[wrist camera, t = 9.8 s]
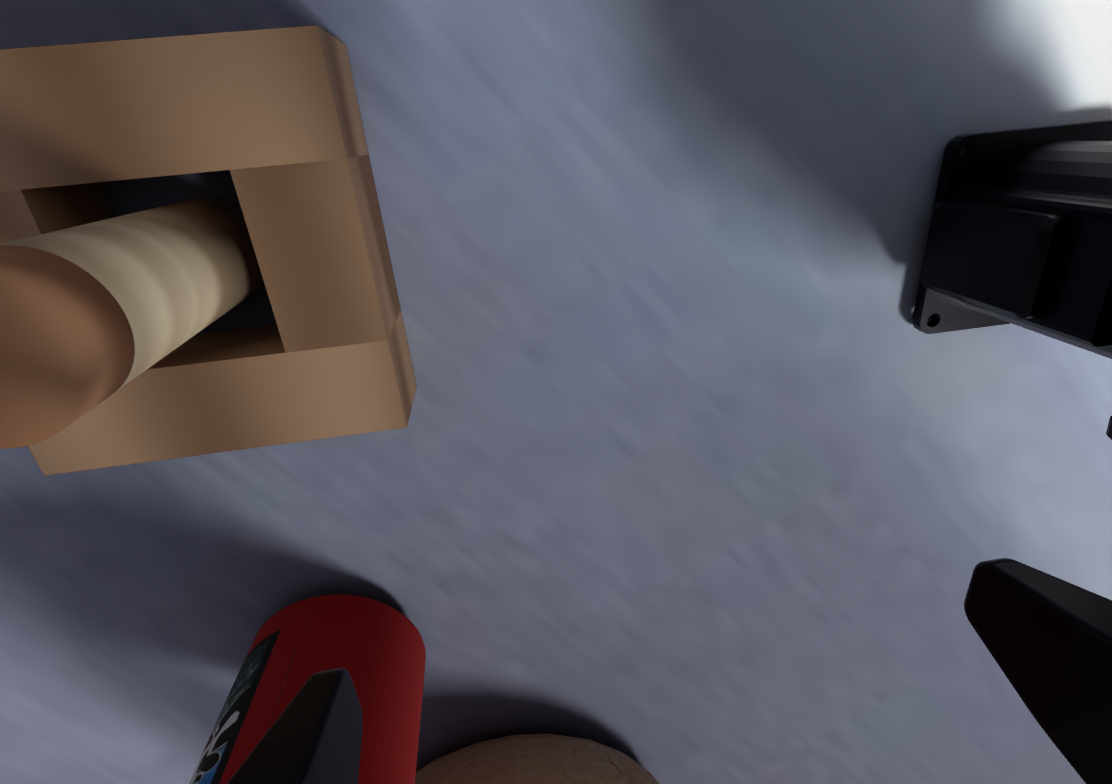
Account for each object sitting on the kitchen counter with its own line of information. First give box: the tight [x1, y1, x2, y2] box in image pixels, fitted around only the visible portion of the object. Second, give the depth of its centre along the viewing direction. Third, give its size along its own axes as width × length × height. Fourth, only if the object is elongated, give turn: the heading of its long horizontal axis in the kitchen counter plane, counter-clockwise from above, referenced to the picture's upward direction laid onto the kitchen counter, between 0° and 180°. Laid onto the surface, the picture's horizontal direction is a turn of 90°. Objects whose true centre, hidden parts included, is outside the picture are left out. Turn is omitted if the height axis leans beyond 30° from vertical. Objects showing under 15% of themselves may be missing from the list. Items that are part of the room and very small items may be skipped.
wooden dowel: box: [0, 198, 264, 449], centre depth 13 cm, size 3×3×9 cm
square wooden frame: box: [0, 25, 417, 476], centre depth 15 cm, size 10×10×3 cm
